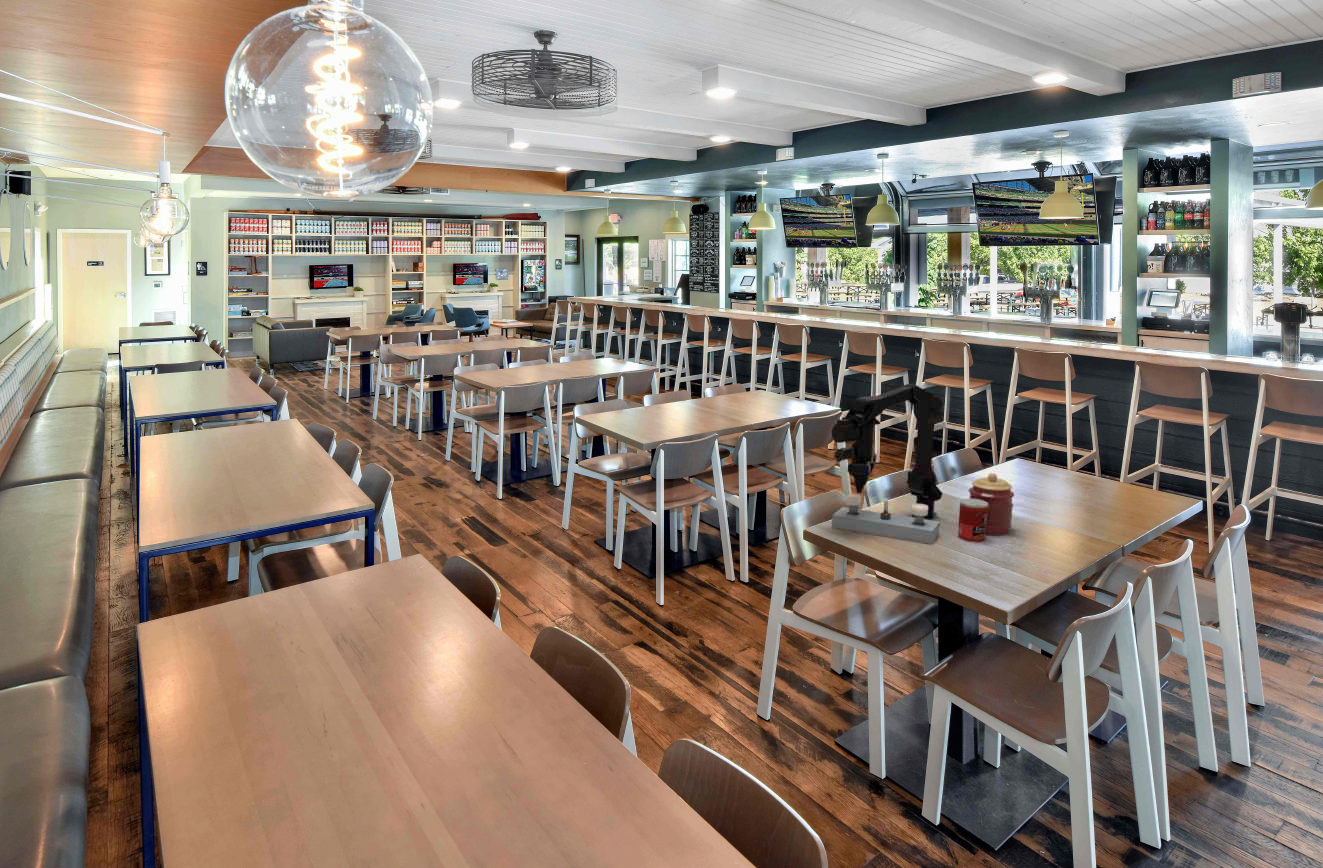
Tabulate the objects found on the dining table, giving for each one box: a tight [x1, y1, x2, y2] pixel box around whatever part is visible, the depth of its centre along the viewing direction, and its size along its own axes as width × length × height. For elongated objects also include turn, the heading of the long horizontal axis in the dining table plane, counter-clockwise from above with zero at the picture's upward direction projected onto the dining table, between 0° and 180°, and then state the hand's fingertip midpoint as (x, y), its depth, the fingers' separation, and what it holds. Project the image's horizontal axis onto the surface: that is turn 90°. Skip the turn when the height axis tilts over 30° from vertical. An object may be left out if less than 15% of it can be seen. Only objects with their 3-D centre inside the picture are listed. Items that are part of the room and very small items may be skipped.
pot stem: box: [880, 500, 891, 520], centre depth 239 cm, size 3×3×6 cm
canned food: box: [957, 498, 988, 543], centre depth 233 cm, size 8×8×11 cm
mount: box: [831, 506, 941, 545], centre depth 240 cm, size 10×30×4 cm, turn 59°
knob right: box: [911, 503, 928, 524], centre depth 234 cm, size 5×5×5 cm
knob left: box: [845, 493, 863, 514], centre depth 244 cm, size 5×5×5 cm
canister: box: [968, 472, 1015, 536], centre depth 240 cm, size 13×13×18 cm
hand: (861, 489), depth 241 cm, fingers open, 9 cm apart
